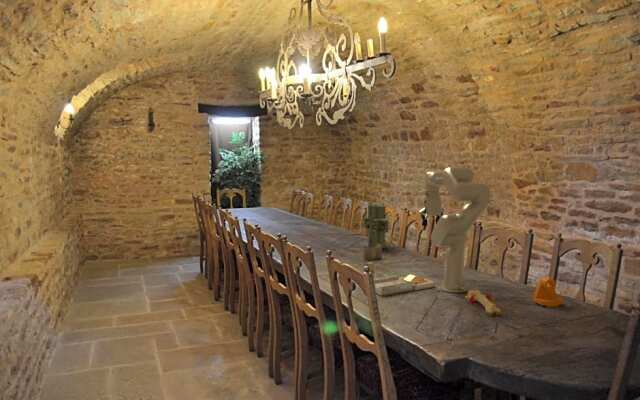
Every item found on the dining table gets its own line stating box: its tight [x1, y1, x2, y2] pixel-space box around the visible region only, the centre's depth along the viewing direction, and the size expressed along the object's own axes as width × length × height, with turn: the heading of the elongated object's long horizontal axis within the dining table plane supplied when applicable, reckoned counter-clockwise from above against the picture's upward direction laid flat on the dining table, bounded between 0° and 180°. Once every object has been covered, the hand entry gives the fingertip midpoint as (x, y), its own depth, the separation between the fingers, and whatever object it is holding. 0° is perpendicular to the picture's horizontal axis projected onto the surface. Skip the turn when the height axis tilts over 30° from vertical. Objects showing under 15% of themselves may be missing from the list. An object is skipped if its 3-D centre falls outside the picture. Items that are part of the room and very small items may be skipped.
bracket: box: [532, 275, 564, 308], centre depth 231 cm, size 11×7×12 cm, turn 98°
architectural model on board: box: [363, 244, 383, 261], centre depth 322 cm, size 11×3×10 cm, turn 115°
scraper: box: [365, 261, 378, 279], centre depth 265 cm, size 8×3×11 cm, turn 32°
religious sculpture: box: [363, 204, 389, 249], centre depth 356 cm, size 24×12×30 cm, turn 15°
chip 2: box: [415, 275, 424, 285], centre depth 263 cm, size 4×4×3 cm
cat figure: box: [465, 289, 502, 317], centre depth 227 cm, size 10×9×25 cm
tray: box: [399, 275, 436, 291], centre depth 262 cm, size 15×13×2 cm
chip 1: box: [404, 274, 417, 284], centre depth 261 cm, size 4×4×3 cm
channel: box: [374, 275, 414, 297], centre depth 254 cm, size 13×20×4 cm, turn 120°
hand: (431, 225), depth 277 cm, fingers open, 9 cm apart
